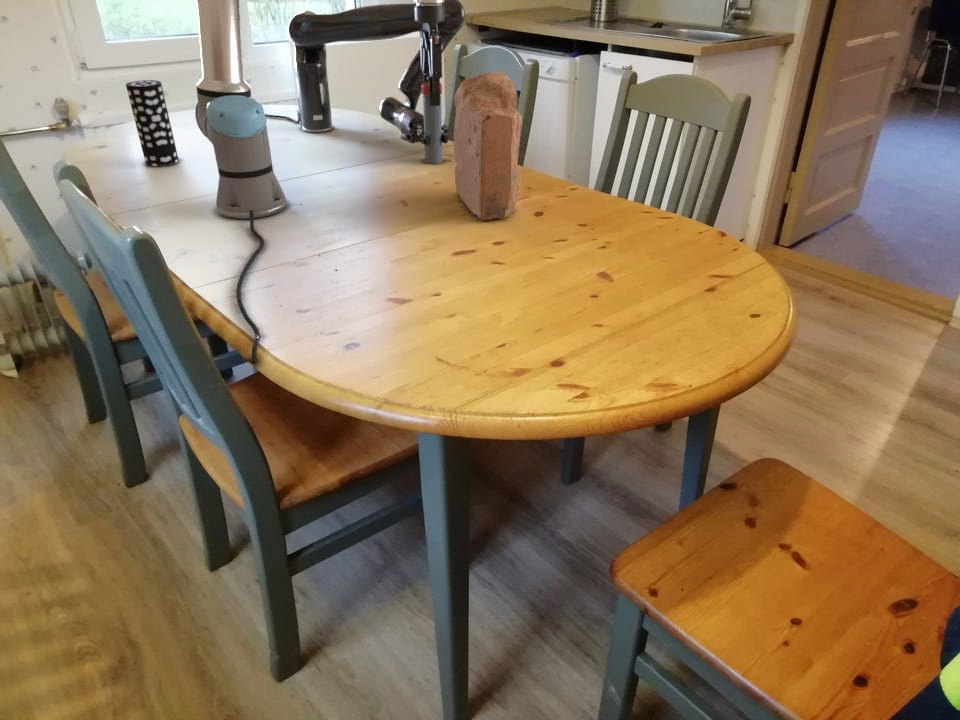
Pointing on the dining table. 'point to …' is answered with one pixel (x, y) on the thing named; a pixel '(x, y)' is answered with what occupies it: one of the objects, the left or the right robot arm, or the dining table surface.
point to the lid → (426, 89)
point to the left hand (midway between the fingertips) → (432, 102)
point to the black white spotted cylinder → (152, 122)
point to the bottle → (432, 131)
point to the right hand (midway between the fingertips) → (436, 140)
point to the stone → (487, 145)
